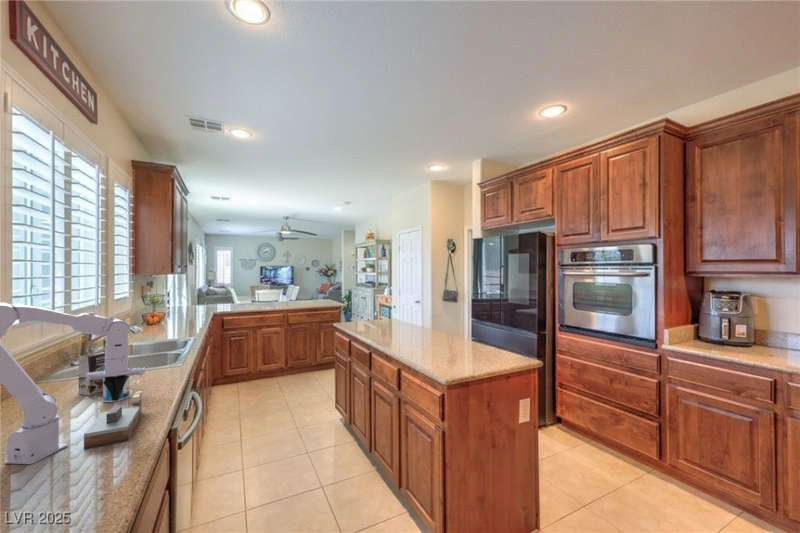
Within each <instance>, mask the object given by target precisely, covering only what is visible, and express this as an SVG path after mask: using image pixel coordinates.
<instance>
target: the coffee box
mask: <svg viewBox="0 0 800 533" xmlns="http://www.w3.org/2000/svg"><path fill="white" fill-rule="evenodd" d="M104 364H105V350H101V351H96V352H91V353H86V354H81V355H78V392H77V393H78V395H81V394H82V396H93V395H95V394H99V393H101V392H102V393H103V378H102V379H92V380H88V381H86V374H88V373H92V372H99V371H104V369H103V366H104Z"/></svg>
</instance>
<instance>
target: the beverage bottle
mask: <svg viewBox="0 0 800 533" xmlns="http://www.w3.org/2000/svg"><path fill="white" fill-rule="evenodd" d="M130 364H131V362H130V361H129V360H128V368H130ZM103 369H104V371H105V364H104V366H103ZM130 379H131V378H130V376H129V377H128V379H127V380H126V382H125V384H124V387H123V389H122V392H121V396H120V399H119V400H117V401H116V402H121V401H123V400H127V398H129V397H130V393H131V392H130V386H131V385H130V384H131V383H130V382H131V381H130ZM103 381H105V378H103ZM102 401H103V402H104V403H113V402H114V403H115V401H112V397H111V394H110V392H109V390H108V388H107V387H106V386H105V385H104V383H103V391H102Z"/></svg>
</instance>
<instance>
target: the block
mask: <svg viewBox="0 0 800 533" xmlns="http://www.w3.org/2000/svg"><path fill="white" fill-rule="evenodd" d="M142 399H143V390H140V391H136V392H135V393H134V394H133V395H132V396H131V405H132V404H138V403H139V402H140V400H142Z"/></svg>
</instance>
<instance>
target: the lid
mask: <svg viewBox="0 0 800 533" xmlns="http://www.w3.org/2000/svg"><path fill="white" fill-rule="evenodd" d="M139 410H140V407H134V408H130V407H129V408H123V405H116V406H115V405H114V406H111V408H110V409H109V410H108V411H102V412H101V413H100V415H98V417H97V418H96V419H95V421H93V423H92V424H91V425H90V426H89V427H88V429H87V430H86V431H85V432H84V433H83V438H84V437H89V436H95V435H100V434H106V433H111V432H117V431H123V430H128V428H129V426H130V425H131V423H132V422H133V420H134V418H135V417H136V415H137V413H138V412H139Z"/></svg>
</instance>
